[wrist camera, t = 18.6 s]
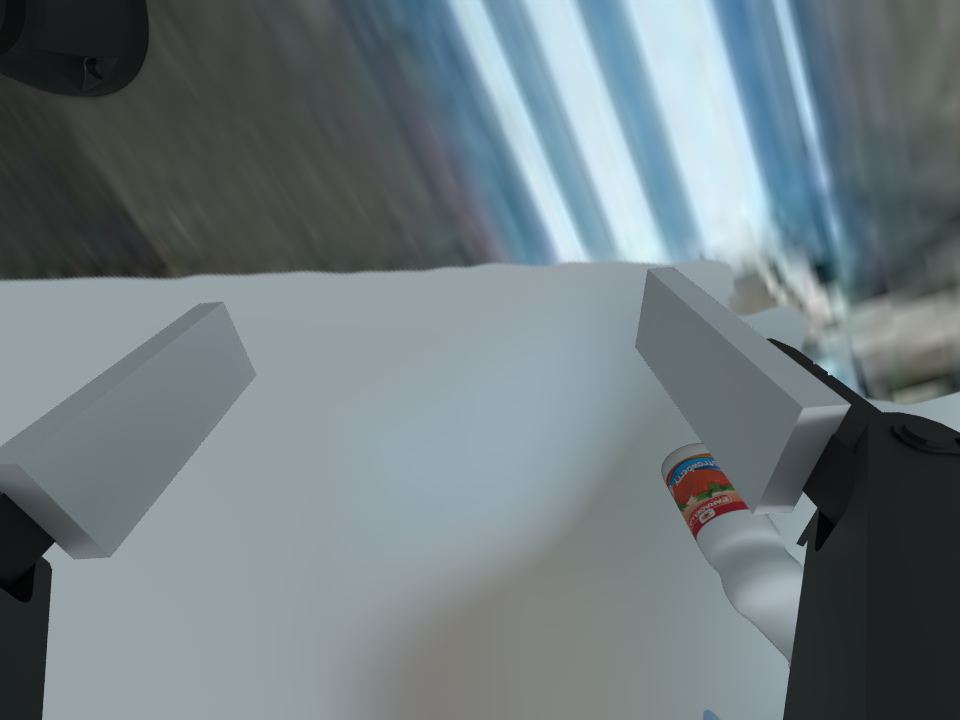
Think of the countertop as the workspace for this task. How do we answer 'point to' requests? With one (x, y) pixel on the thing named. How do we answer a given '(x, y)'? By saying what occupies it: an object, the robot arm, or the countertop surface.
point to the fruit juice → (737, 545)
